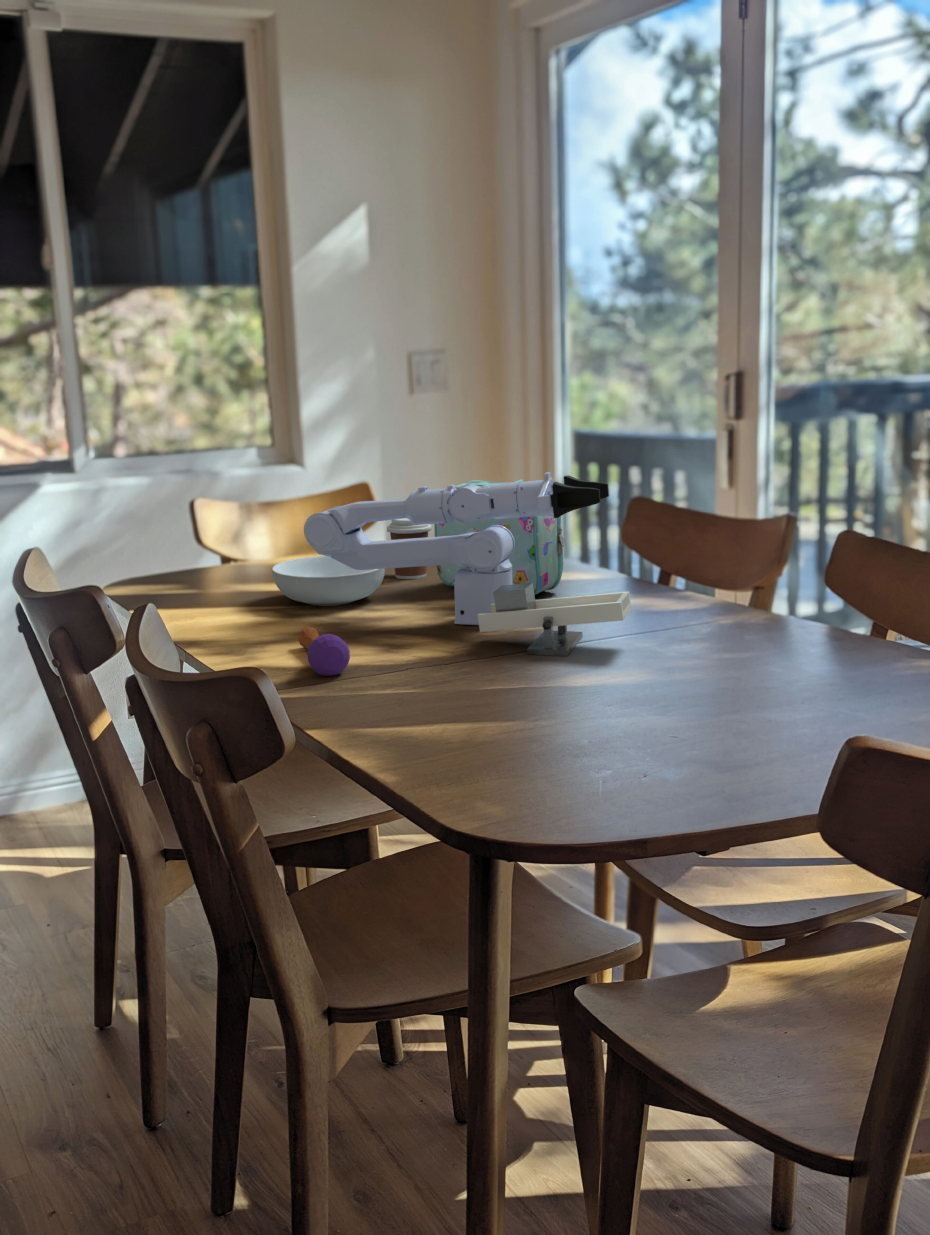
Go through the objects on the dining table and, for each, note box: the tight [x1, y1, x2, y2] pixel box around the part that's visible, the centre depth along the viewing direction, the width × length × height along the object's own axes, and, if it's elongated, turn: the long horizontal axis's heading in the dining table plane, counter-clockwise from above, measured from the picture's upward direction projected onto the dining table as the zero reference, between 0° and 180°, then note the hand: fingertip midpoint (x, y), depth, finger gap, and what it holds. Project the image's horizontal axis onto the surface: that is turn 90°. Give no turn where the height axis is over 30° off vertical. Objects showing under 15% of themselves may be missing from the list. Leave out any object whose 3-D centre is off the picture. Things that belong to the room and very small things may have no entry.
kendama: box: [297, 626, 351, 677], centre depth 168 cm, size 6×6×20 cm
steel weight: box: [493, 583, 536, 612], centre depth 175 cm, size 5×5×4 cm
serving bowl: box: [271, 555, 386, 607], centre depth 211 cm, size 21×21×7 cm
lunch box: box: [434, 478, 567, 596], centre depth 214 cm, size 27×10×21 cm, turn 50°
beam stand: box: [526, 617, 583, 657], centre depth 174 cm, size 6×12×6 cm, turn 163°
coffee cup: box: [386, 518, 432, 580], centre depth 232 cm, size 9×9×12 cm
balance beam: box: [478, 591, 632, 633], centre depth 173 cm, size 22×8×3 cm, turn 73°
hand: (604, 492), depth 181 cm, fingers open, 7 cm apart
